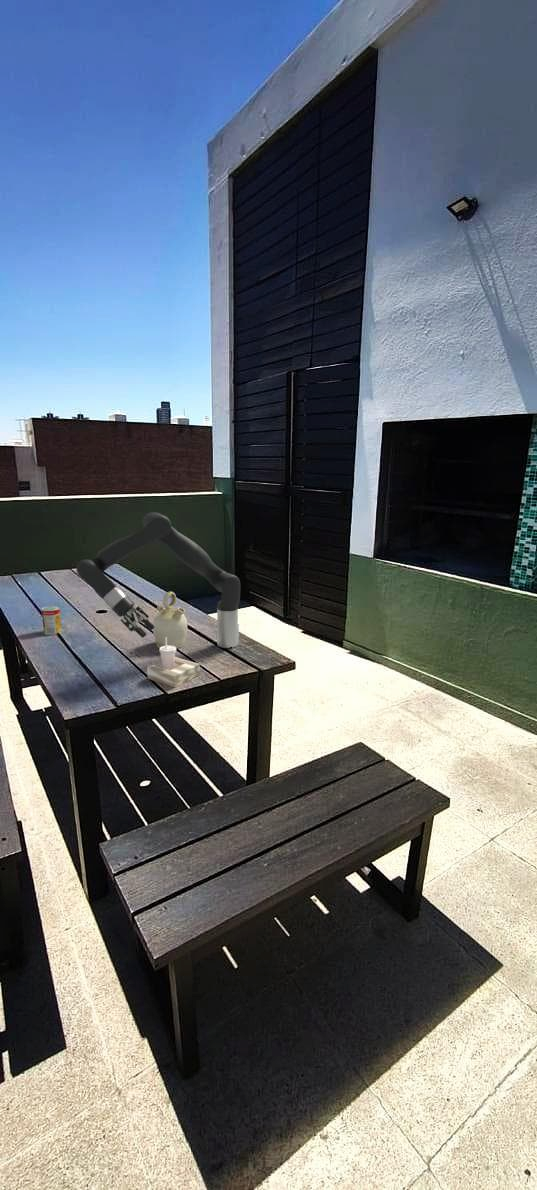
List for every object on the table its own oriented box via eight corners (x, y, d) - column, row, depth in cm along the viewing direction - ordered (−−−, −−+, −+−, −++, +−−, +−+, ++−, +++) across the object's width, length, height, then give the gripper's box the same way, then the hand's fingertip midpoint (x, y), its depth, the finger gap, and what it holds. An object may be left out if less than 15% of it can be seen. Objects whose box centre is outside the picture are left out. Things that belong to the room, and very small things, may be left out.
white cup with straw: (161, 668, 192) (160, 634, 188) (177, 668, 192) (176, 634, 189) (158, 675, 185) (157, 640, 182) (176, 674, 186) (175, 640, 182)
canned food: (62, 629, 238) (60, 605, 235) (61, 634, 231) (59, 610, 228) (44, 630, 236) (42, 606, 233) (43, 635, 229) (40, 611, 226)
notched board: (172, 666, 197) (172, 656, 196) (199, 674, 190) (199, 664, 189) (147, 678, 186) (147, 667, 185) (175, 687, 179) (175, 676, 178)
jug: (194, 645, 222) (193, 591, 215) (166, 653, 211) (164, 598, 204) (174, 636, 232) (173, 585, 225) (146, 644, 221) (144, 591, 214)
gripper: (117, 600, 176) (148, 632, 178) (132, 590, 190) (161, 620, 191) (104, 613, 178) (135, 645, 180) (119, 603, 192) (149, 632, 193)
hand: (148, 632), depth 186 cm, fingers open, 8 cm apart
